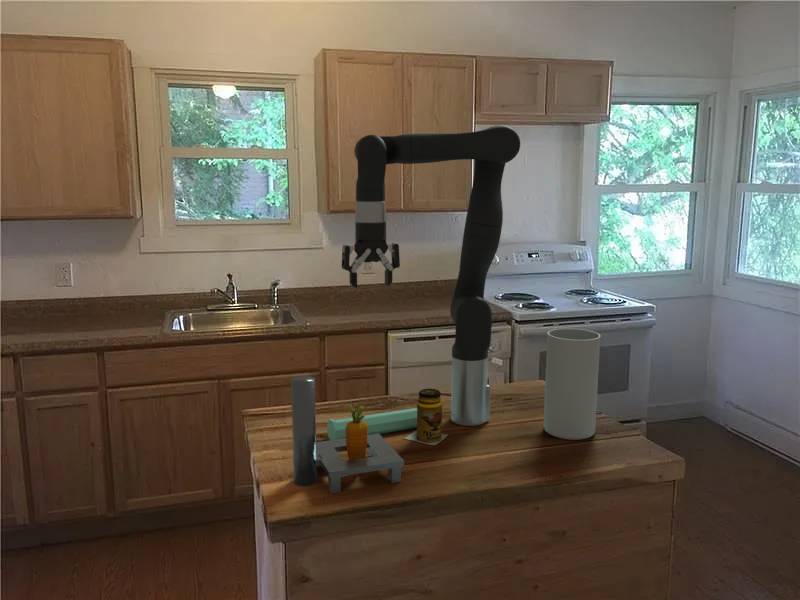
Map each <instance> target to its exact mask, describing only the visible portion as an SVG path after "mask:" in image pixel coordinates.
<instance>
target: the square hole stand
mask: <svg viewBox="0 0 800 600" xmlns="http://www.w3.org/2000/svg"><path fill="white" fill-rule="evenodd" d="M290 390H291V392H290V393H291V394H290V395H291V396H290V397H291V421H292V422H291V423H292V458H293V460H292V462H293V483H294V484H295V485H297V486H298V487H299V486H300V487H308V486H312V485H314V484H316V483H317V481H318V468H322V469H323V471H324V473H325V474H326V476H327V477H328V478H327V480H328V481H327V482H328V491H329V492H330V494H332V495H333V494H336V493H341V491H342V487H341V486H342V485H341V482H342V481H341V479H342V478H341V477H343V476H344V477H346V476H353V475H357V474H363V473H369V472H375V471H382V470H388V480H389V482H390V483H391V484H395V483H401V482H402V467H405V460H404V459H403V458H402V457H401V456H400V454H398V452H397V451H396V450H395V449H394V448H393V447H392V446H391V445H390V444H389V443H388V442H387V440H386V439H385V438H384V437H383V436H382V434H371V435H368V438H367V448H366V449H367V450H368V452H369V453H368V456H369V457H365V458H361V459H354V460H349V459H348V460H343V458H342V457H341V456H340V454H339V453H341V452H347V448H346V438H343V439H336V440H329V439H328V440H324V441H323V440H322V441H317V422H316V419H317V417H316V415H317V414H316V413H317V411H316V378H315V377H313V376H310V375H298V376H294V377H292V378H291V380H290Z"/></svg>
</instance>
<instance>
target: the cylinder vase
mask: <svg viewBox="0 0 800 600" xmlns="http://www.w3.org/2000/svg"><path fill="white" fill-rule="evenodd" d="M600 352H601V334H600V333H598V332H595V331H592V330H587V329H581V328H556V329H551V330H548V331H547V339H546V362H545V364H546V365H545V385H544V386H545V387H544V388H545V389H544V411H543V430H544V431H545V432H546V433H547V434H549V435H551V436H553V437H555V438H558V439H563V440H569V441H570V440H571V441H572V440H573V441H579V440H587V439H589V438H591V437H593V436H594V435H595V432H596V423H597V422H596V420H597V419H596V418H597V403H598V401H597V400H598V390H599V389H598V387H599V386H598V385H599V370H600V369H599V368H600V367H599V366H600V354H601V353H600Z"/></svg>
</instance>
